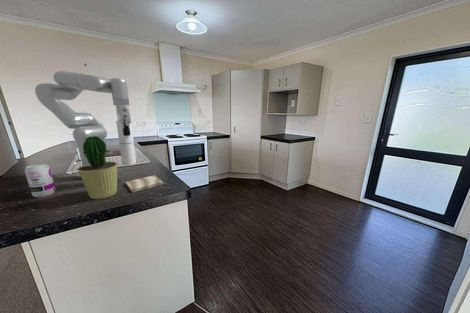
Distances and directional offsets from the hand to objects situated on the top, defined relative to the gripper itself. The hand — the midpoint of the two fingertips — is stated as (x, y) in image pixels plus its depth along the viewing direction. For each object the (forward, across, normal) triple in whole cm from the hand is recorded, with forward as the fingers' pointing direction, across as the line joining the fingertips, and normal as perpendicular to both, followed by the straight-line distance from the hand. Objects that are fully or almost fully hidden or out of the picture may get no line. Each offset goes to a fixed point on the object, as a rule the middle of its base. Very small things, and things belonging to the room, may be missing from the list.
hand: (125, 134), depth 101 cm
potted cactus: (+28, -13, +15) cm, 34 cm away
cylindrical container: (+18, 0, 0) cm, 18 cm away
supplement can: (+28, +6, +37) cm, 47 cm away
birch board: (+27, -14, -4) cm, 31 cm away
